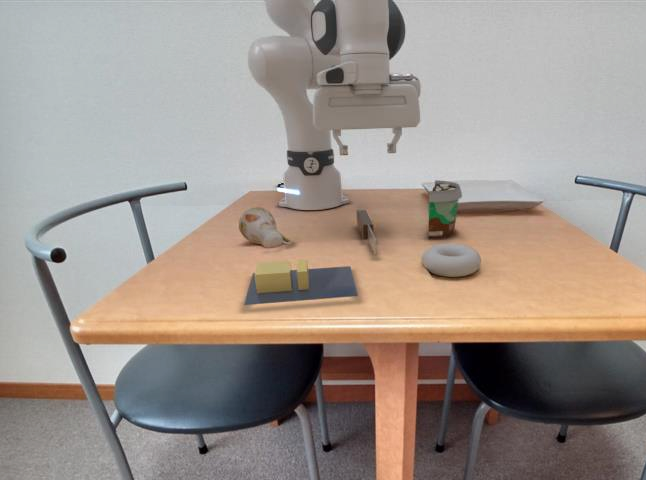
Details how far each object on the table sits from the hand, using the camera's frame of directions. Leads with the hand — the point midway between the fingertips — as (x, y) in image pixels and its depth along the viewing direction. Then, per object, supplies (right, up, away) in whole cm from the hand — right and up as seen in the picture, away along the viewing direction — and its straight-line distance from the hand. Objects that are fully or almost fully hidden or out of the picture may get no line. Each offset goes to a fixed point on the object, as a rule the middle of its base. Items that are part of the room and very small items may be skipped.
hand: (368, 154), depth 84 cm
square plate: (+28, -2, +33) cm, 43 cm away
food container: (+16, -14, +9) cm, 23 cm away
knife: (0, -17, +4) cm, 17 cm away
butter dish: (-10, -27, -17) cm, 33 cm away
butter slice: (-9, -26, -18) cm, 33 cm away
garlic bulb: (-20, -18, +2) cm, 27 cm away
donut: (+14, -23, -10) cm, 29 cm away
